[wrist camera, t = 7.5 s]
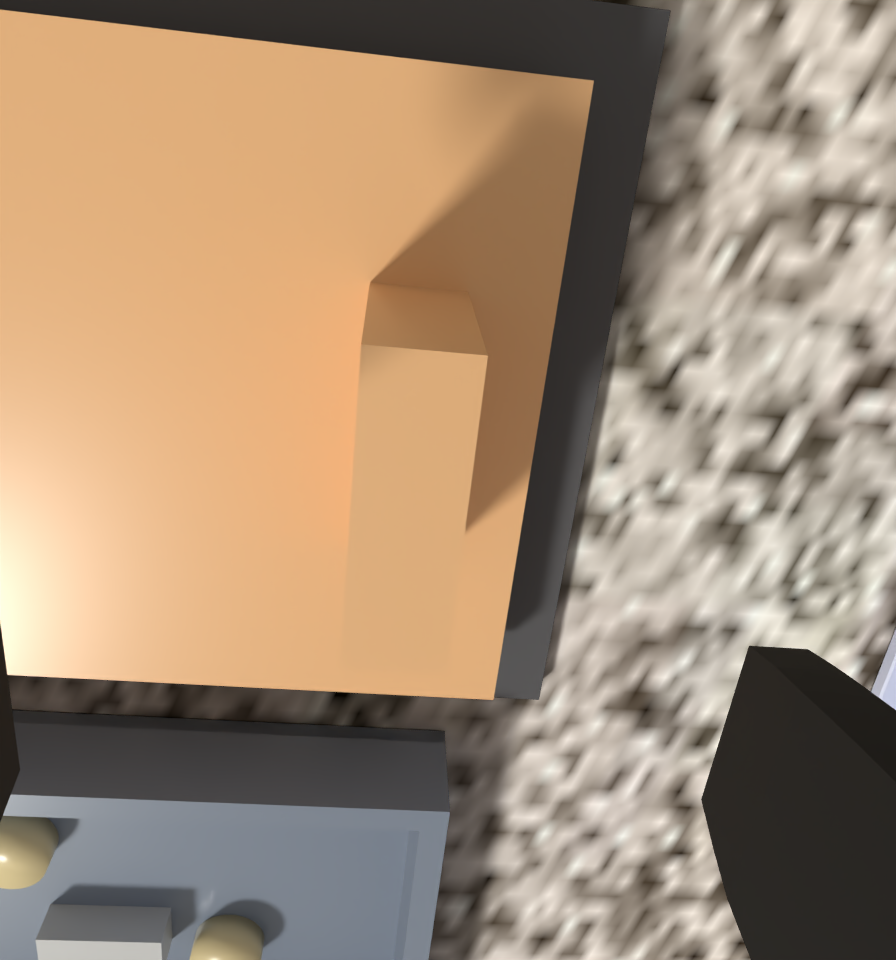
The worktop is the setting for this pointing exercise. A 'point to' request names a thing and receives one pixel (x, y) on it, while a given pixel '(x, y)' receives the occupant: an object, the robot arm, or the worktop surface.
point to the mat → (594, 225)
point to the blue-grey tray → (220, 840)
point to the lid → (270, 355)
